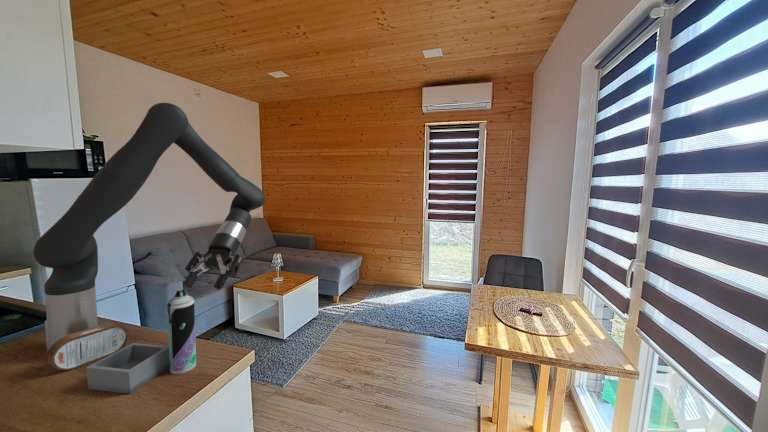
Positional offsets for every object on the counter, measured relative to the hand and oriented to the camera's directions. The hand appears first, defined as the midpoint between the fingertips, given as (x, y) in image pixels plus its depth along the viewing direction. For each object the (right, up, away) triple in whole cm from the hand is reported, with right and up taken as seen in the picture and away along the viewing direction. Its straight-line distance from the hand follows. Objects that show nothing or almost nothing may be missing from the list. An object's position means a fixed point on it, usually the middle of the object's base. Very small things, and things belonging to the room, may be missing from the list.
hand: (202, 287), depth 79 cm
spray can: (-1, -19, -6) cm, 20 cm away
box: (-11, -19, -9) cm, 24 cm away
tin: (-26, -18, -4) cm, 32 cm away
